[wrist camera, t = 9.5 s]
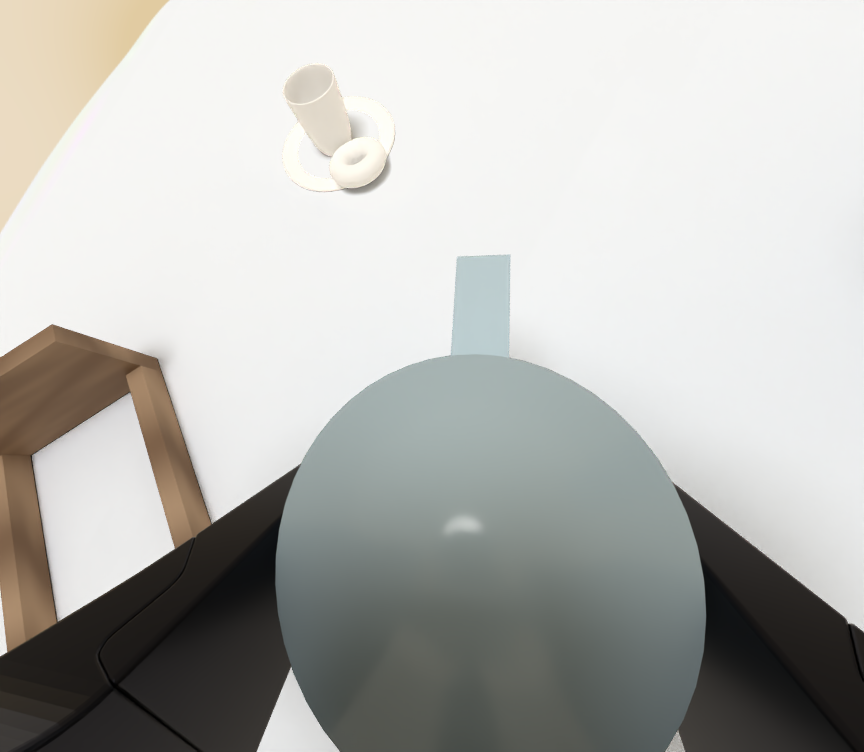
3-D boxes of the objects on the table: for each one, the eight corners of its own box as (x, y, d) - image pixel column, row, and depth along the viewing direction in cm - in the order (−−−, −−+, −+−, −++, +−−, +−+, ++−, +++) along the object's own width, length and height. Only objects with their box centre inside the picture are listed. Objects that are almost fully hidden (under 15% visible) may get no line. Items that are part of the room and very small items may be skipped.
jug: (557, 586, 12) (745, 907, 3) (407, 565, 13) (236, 767, 4) (552, 364, 15) (655, 194, 6) (424, 362, 16) (335, 215, 7)
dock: (219, 549, 16) (107, 585, 11) (44, 662, 16) (-143, 745, 11) (156, 358, 20) (52, 324, 15) (13, 449, 20) (-136, 444, 15)
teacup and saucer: (402, 192, 21) (381, 129, 17) (285, 218, 22) (240, 164, 18) (392, 92, 23) (373, 17, 19) (288, 119, 24) (249, 53, 20)
